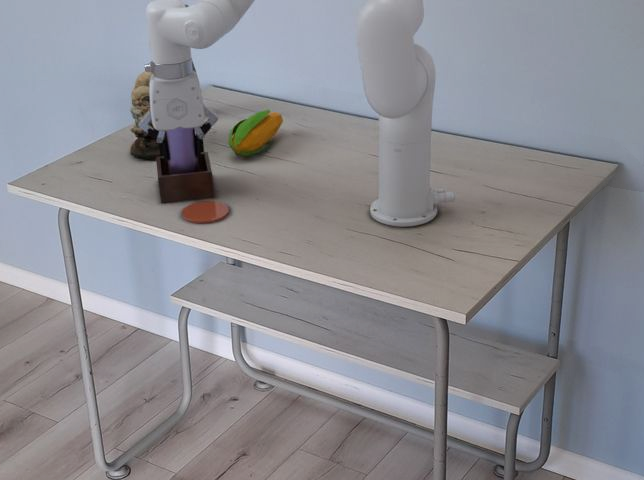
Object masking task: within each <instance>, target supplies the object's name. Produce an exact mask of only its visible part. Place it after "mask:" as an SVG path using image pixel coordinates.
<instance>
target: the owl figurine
mask: <svg viewBox="0 0 644 480" xmlns="http://www.w3.org/2000/svg"><path fill="white" fill-rule="evenodd" d="M151 75H153V73H152V72H149V71H148V72H145V71H144V72H140V73H139V74H138V75H137V77H136V81H135V83H134V87H133V88H132V92H131V96H130V97H131V107H130V109H129V112H130V113H131V117H132V118H133V119H134V126H133V127H131V128H130V132H131V133H133V134H134V135H135V137H136V138H137V139H135V141H134V142H133V143H132V144H131V145H130V148H129V149H130V154H131V156H133V157H134V158H142V159H145V160H151V161H156V157H159V156H160V151H159V143H158V142H157V140H155V139H154V138H153V137H151V136H150V135H149V134H148V133H147V132H145V131H144V130H142V129H141V128H140V127H139V122H140V121H141V119H142V118H143V117H144V116H145V114H146V113H147V112H148V111H149V110H150V91H149V85H150V77H151ZM148 125H150V126H151V127H153V124H152V119H151V121H150V122H149V123H148ZM153 128H154V127H153ZM154 129H155V128H154ZM155 130H156V129H155ZM164 138H165V135H164Z"/></svg>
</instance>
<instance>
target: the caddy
mask: <svg viewBox="0 0 644 480" xmlns="http://www.w3.org/2000/svg"><path fill="white" fill-rule="evenodd" d="M155 162H156V170H157V171H156V172H157V182H158V188H159V189H158V190H159V199H160V204H166V203H177V202H186V201H193V200H194V201H196V200H204V199H213V198H215V190H214V189H215V188H214V177H213V170H212V165H211V160H210V157H209V151H204V152H202V153H201V158H198V165H199V172H192V173H182V174H172V175H170V174H169V166H168V161H167V162H164V156H161V157H160V156H159V157H156V160H155Z"/></svg>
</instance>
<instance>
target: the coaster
mask: <svg viewBox="0 0 644 480" xmlns="http://www.w3.org/2000/svg"><path fill="white" fill-rule="evenodd" d="M229 212H230V211H229V207H228V205H227V204H226V203H223V202H220V201H217V200H203V201H196V202H194V203H190V204H188V205H187V206H185V207H184V208H183V209H182V211H181V216H182V218H183V220H185V221H187V222H188V223H193V224H210V223H211V224H213V223H215V222H219V221H221V220H223V219H225V218H226V217H227V216H228V215H229Z"/></svg>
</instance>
